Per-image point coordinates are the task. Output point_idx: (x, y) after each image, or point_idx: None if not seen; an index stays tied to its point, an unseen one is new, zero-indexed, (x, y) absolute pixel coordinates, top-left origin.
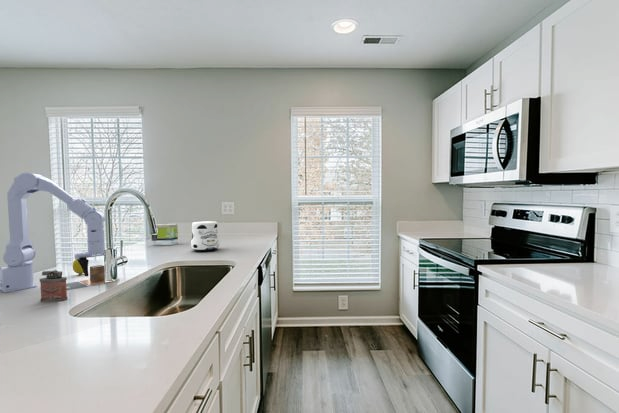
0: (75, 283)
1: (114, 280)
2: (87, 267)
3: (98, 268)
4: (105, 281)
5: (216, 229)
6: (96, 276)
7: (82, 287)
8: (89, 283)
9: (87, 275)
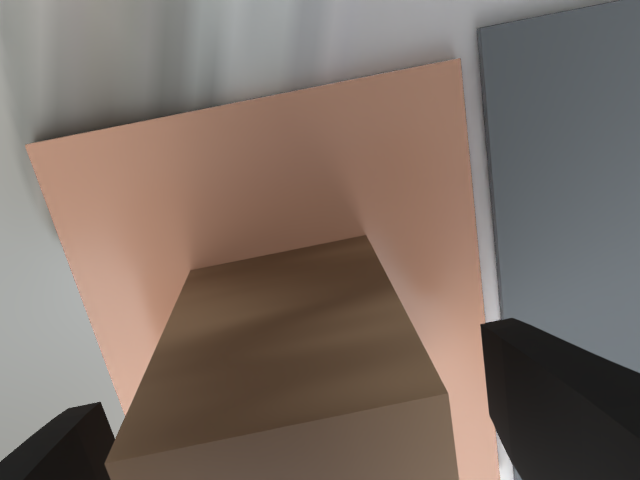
0: None
1: (36, 154)
2: (625, 414)
3: (293, 392)
4: (190, 189)
5: None
6: (331, 286)
7: (575, 11)
8: (430, 228)
9: (503, 323)
